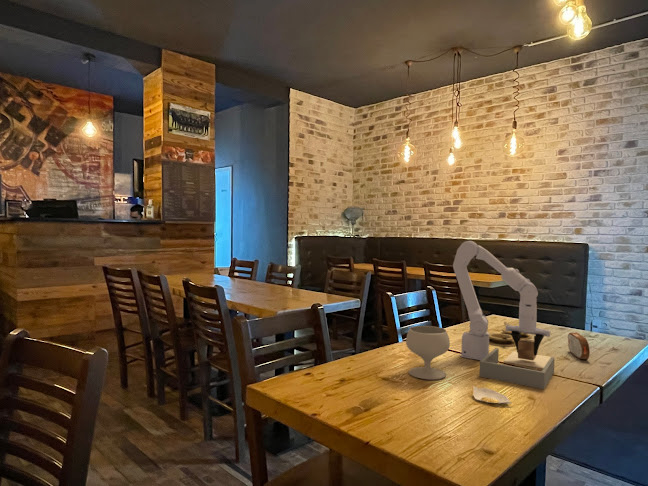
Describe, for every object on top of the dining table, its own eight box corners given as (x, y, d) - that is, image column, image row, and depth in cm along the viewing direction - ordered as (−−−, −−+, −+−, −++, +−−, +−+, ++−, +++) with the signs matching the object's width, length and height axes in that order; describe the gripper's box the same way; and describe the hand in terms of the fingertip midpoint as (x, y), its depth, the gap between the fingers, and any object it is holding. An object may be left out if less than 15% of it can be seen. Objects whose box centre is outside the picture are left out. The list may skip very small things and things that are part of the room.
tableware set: (518, 352, 171) (518, 337, 171) (471, 342, 184) (471, 329, 184) (542, 339, 192) (542, 325, 192) (499, 331, 206) (499, 319, 206)
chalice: (402, 378, 137) (403, 332, 136) (409, 365, 150) (409, 323, 149) (447, 384, 132) (448, 336, 131) (450, 370, 145) (451, 326, 144)
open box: (479, 376, 139) (479, 361, 139) (495, 361, 155) (495, 348, 155) (544, 389, 128) (544, 372, 128) (554, 371, 144) (554, 357, 144)
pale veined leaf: (478, 389, 127) (479, 381, 126) (518, 405, 118) (519, 396, 117) (463, 397, 122) (464, 389, 121) (504, 414, 112) (504, 405, 112)
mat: (503, 361, 155) (503, 360, 155) (513, 352, 168) (513, 351, 168) (546, 369, 147) (546, 368, 147) (553, 358, 160) (553, 357, 160)
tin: (590, 362, 155) (590, 339, 155) (580, 361, 156) (581, 339, 156) (574, 351, 170) (575, 330, 170) (566, 350, 171) (566, 329, 170)
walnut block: (517, 358, 153) (518, 341, 153) (520, 354, 157) (521, 338, 157) (533, 360, 150) (533, 343, 150) (535, 357, 154) (536, 340, 154)
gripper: (503, 315, 155) (503, 352, 155) (548, 320, 146) (547, 359, 146) (508, 312, 160) (507, 348, 161) (551, 317, 152) (550, 355, 152)
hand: (527, 353), depth 154 cm, fingers closed on walnut block, 5 cm apart
